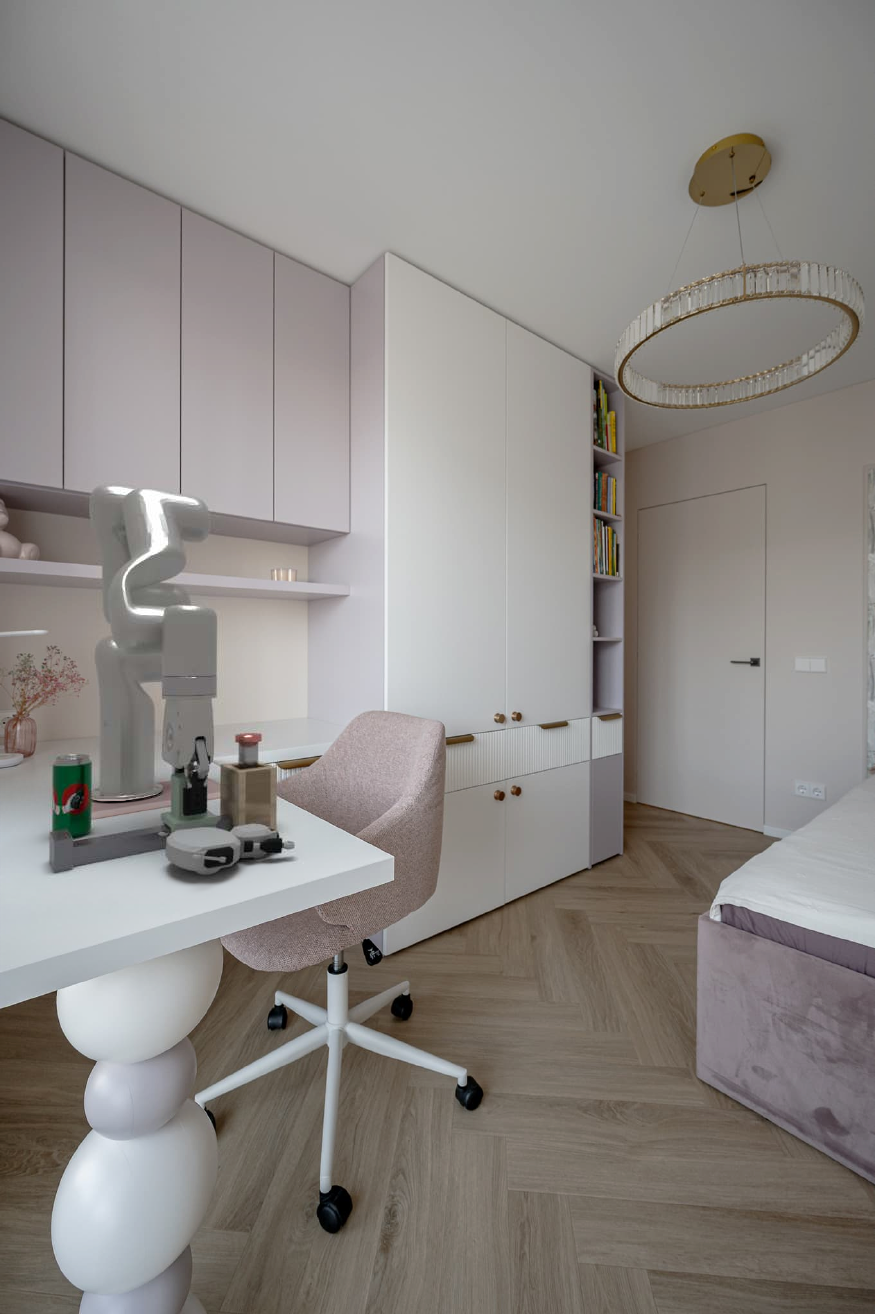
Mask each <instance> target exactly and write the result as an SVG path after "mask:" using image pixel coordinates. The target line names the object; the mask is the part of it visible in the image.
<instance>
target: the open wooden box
mask: <svg viewBox="0 0 875 1314" xmlns="http://www.w3.org/2000/svg"><path fill="white" fill-rule="evenodd" d="M277 771H278V768H277V767H276V766H273V765H271V764H268V763H266V762H265V763H264V762H262V761H259V760H258V768H250V769H242V770H240V769H238V762H232V763H231V762H230V763H223V764H222V763H221V764H220V781H219V783H220V796H219V797H220V800H219V802H220V804H219V805H220V807H219V808H220V809H219V812H220V813H219V815H224V814H226V815H228V816H229V817H231V818H233V828H234V827H237V826H242V825H247V824H261V825H264V826H266V827H271V828H272V829H274V830H277V819H278V818H277V815H278V814H277V812H278V811H277V806H278V805H277V804H278V803H277V802H278V801H277V800H278V799H277V797H278V793H277V792H278V789H277V788H278V787H277V786H278V783H277V782H278V779H277V778H278V772H277Z"/></svg>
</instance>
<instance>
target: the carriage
mask: <svg viewBox="0 0 875 1314" xmlns="http://www.w3.org/2000/svg"><path fill="white" fill-rule="evenodd" d="M193 772H194V771H193ZM193 772H191V777H192V774H193ZM208 776H209V775H208ZM208 776H207V778H208ZM183 788H186V785H185V773H177V774H172V773H171V774H170V811H168V812H161V813H160V820H161V826H162V825H168V826H169V827H170V828H171V834H172V833H173V832H175V831H177V830H184V829H191V828H199V827H212V828H216V823H218V816H219V815H217V814H214V813H213V812H211V811H209V810H208V809H207V811H206V813H203V814H197V815H191V816H184V815H183Z"/></svg>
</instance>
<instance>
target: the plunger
mask: <svg viewBox="0 0 875 1314" xmlns="http://www.w3.org/2000/svg"><path fill="white" fill-rule="evenodd" d="M262 735H263V734H262V733H258V732H250V733H249V732H246V733H237V734H235V736H234V738H235V739H234V742H235V743H238V751H237V752H238V757H237V758H238V759H237V760H238V762H237V763H238V769H240V770H242V769H250V768H258V761H259V742H262V740H263V736H262Z"/></svg>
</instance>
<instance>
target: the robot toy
mask: <svg viewBox="0 0 875 1314" xmlns="http://www.w3.org/2000/svg"><path fill="white" fill-rule="evenodd" d="M158 834H159V835H160V836H168V837H167V840H166V848H165V857H166V859H167V860H168V861H169V862H170V863H171V864H172V865H174V866H177V867H178V868H181V869H184V870H187V871H194V872H196V873H197V874H198V875H201V876H211V875H214V874H216V873H217V872H219V871H220V870H221V869H223V868H228V867H231V866H233V865H234V864H235V863H236V862H238V861H239V860H240V859H246V858H253V859H260V858H265V855H266V854H282V853H283V849H284V850H288V851H289V850H293V849H294V848H295V842H294V841H292V840H290V841H289V840H286V841H283V838H282V837H280V834H279V832H278V829H276V830H274V829H272V828H271V827H266V826H264V825H261V824H247V825H242V826H237V827H234V828H233V829H232V830H231V831H230V832H228V831H225V830H222V829H218V828H212V827H199V828H191V829H184V830H177V831H175V832H173V833H172V834H168V833H164V832H160V833H158Z"/></svg>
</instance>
